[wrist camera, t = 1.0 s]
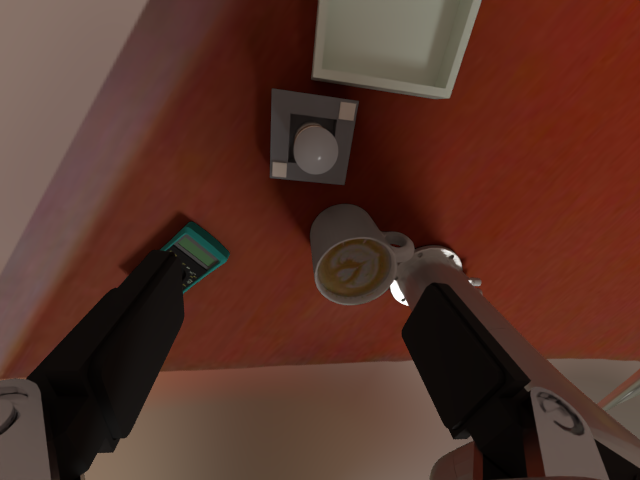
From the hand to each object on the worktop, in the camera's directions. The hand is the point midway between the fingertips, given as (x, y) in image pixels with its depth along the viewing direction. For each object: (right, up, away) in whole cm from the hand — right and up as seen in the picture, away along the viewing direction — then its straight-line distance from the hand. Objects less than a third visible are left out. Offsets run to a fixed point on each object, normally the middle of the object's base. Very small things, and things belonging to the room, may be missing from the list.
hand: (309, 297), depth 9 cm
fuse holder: (-1, +15, +20) cm, 25 cm away
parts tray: (+7, +24, +16) cm, 30 cm away
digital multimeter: (-21, -1, +28) cm, 35 cm away
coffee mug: (+5, +3, +28) cm, 29 cm away
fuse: (-1, +14, +20) cm, 24 cm away
